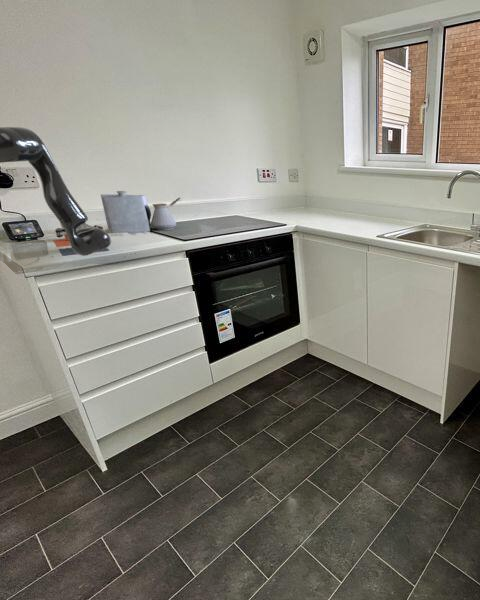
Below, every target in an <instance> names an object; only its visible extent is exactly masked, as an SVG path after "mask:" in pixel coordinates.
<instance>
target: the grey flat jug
mask: <svg viewBox="0 0 480 600" xmlns="http://www.w3.org/2000/svg"><path fill="white" fill-rule="evenodd" d="M113 195H118V193H117V194H115V193H114V194H113V193H101V194H100V198H101V197H102V196H113ZM126 196H143V201H144V205H145V210H146V214H147V218H148V223H149V227H150V230H151V229H152V226H151V219H152V212H151V208H150V207H149V205H148V202H147V196H146V195H145V194H126ZM101 203H102V207H103V213H104V218H105V221H106V224H107V225H106V226H107V229H108V230H110V227H109V224H108V220H107V216H106V212H105V209H104V205H103V201H102V198H101Z"/></svg>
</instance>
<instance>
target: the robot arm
mask: <svg viewBox="0 0 480 600" xmlns="http://www.w3.org/2000/svg"><path fill="white" fill-rule="evenodd" d="M18 162H28V163H29V164H30V165H31V167H32V168H33V169H34V171H35V172H36V174H37V176H38V178H39V180H40V184H41V188H42V195H43V198H44V201H45V203H46V205H47V207H48V209H49V210H50V211H51V212H52V213H53V215H54V216H55V218H56V219H58V222H59V224H60V223H61V224H62V226H63V227H64V228H63V229H62V227H57V228H56V229H55V230H54V232H55V235H56V237H57V238H60V239H61V238H62V237H64V235H67V236H68V239H69V242H70V245H71V246H70V248H72V249H73V250H74V251H75V252H76V253H77V254H76V255H79V256H83V257H85V256H89V255H92V254H95V253H98V252H97V251H100V250H102V249H105V248H109V247H110V246H111V244H112V238H111V236H110V235H109V233H108V232H106V231H105V230H104V227H103V226H101V225H97V224H95V225H93V226H92V225H90V224H87V222H88V220H89V218H88V216H87V214H86V212H85V211H84V210H83V208H82V207H81V206H80V204H79V203H78V202H77V200H76V199H75V198H74V196H73V195H72V193H71V191H70V190H69V189H68V187H67V185H66V183H65V181H64V180H63V178H62V175H61V174H60V171H59V169H58V168H57V165H56V164H55V162H54V160H53V157H52V156H51V154H50V152H49V150H48V148H47V147H46V145H45V143H44V142H43V140H42V139H41V137H40V136H39V135H38V134H37V133H36V132H34V131H33V130H32V129H29V128H26V127H21V126H11V127H10V126H0V164H2V163H18ZM85 223H86V224H85ZM61 224H60V225H61Z"/></svg>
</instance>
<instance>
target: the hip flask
mask: <svg viewBox="0 0 480 600" xmlns="http://www.w3.org/2000/svg"><path fill="white" fill-rule="evenodd" d="M116 193H117V194H118V195H113V196H102V197H101V196H100V198H102V199H101V202H102V201H103V203H102V206H103V205H104V208H103V210H104V209H105V212H106V216H107V220H108V224H109V227H110V233H111V234H139V233H148V232H151V229H150V227H149V223H148V218H147V214H146V210H145V205H144V201H143V196H126V195H127V191H126V190H117V191H116Z"/></svg>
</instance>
